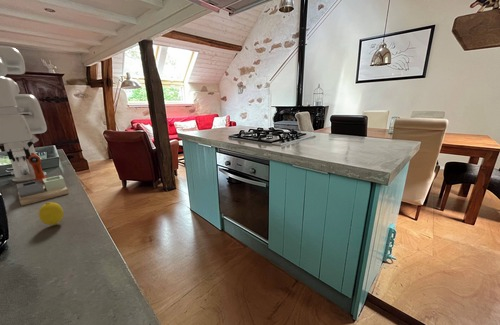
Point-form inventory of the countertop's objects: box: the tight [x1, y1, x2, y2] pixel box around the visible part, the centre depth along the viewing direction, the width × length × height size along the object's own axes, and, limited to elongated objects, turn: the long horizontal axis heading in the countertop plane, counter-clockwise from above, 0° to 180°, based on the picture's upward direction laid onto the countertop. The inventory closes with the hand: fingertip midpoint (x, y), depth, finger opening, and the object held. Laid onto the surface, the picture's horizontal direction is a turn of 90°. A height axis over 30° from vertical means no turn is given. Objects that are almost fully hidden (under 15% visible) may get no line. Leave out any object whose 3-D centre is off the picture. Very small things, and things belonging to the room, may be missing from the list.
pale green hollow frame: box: [42, 174, 67, 191], centre depth 92 cm, size 6×6×4 cm
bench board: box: [17, 185, 70, 206], centre depth 90 cm, size 14×14×2 cm
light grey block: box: [11, 148, 30, 175], centre depth 84 cm, size 7×3×10 cm, turn 49°
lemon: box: [38, 201, 65, 226], centre depth 67 cm, size 6×6×8 cm
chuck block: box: [16, 179, 45, 198], centre depth 87 cm, size 7×7×4 cm
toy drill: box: [28, 153, 48, 185], centre depth 100 cm, size 5×19×15 cm, turn 46°
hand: (20, 159), depth 84 cm, fingers closed on light grey block, 3 cm apart
